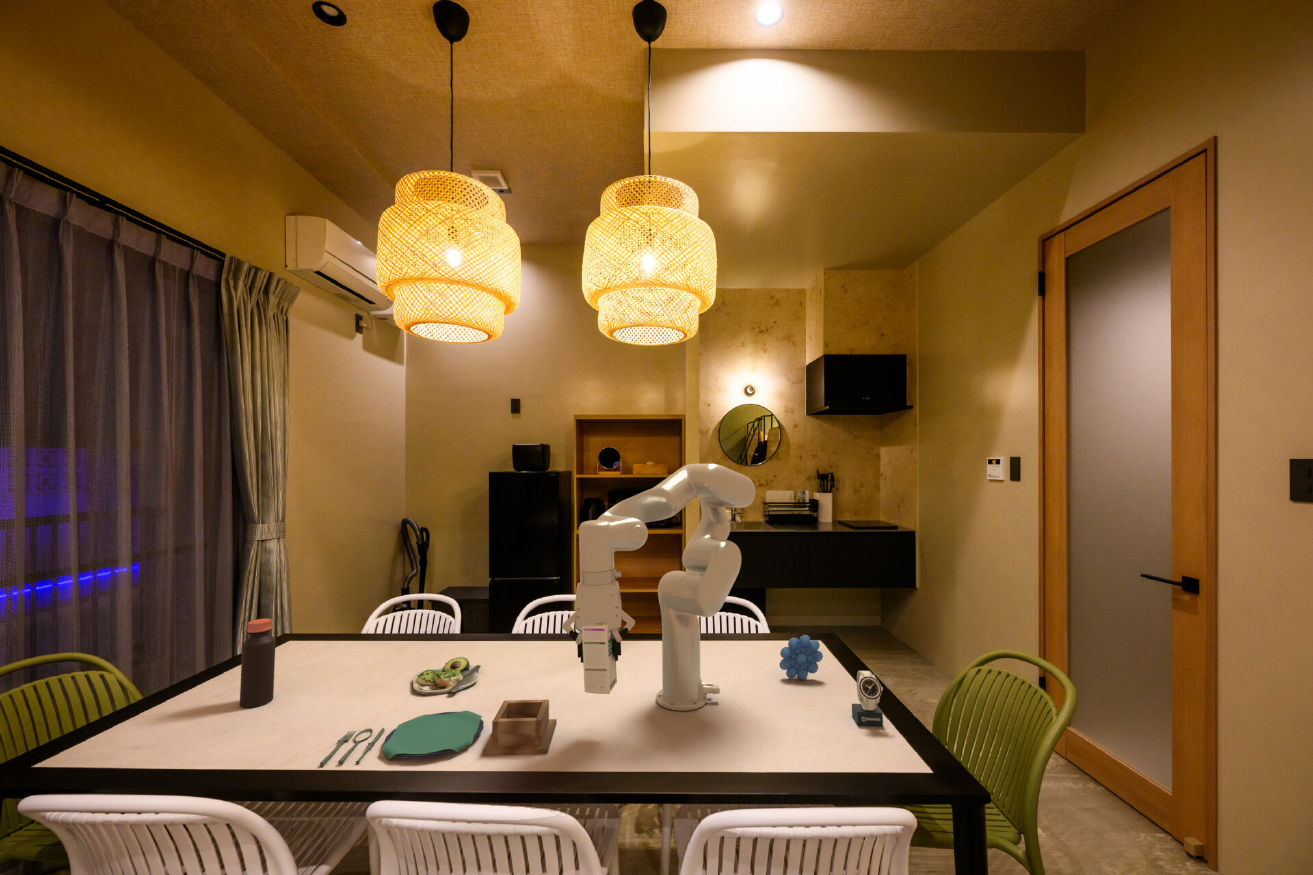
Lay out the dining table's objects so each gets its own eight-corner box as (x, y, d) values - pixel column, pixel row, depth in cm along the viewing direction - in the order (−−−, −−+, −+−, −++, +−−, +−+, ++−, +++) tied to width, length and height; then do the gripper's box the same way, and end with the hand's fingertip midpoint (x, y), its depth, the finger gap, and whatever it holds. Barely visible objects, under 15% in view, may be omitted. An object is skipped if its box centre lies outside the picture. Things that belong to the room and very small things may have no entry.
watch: (860, 730, 117) (858, 679, 117) (850, 713, 125) (848, 665, 125) (886, 731, 116) (884, 679, 117) (874, 714, 124) (873, 666, 125)
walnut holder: (556, 723, 121) (556, 696, 121) (547, 753, 108) (547, 723, 108) (498, 725, 120) (498, 697, 121) (482, 755, 107) (482, 725, 108)
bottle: (276, 702, 133) (279, 620, 134) (242, 711, 128) (245, 626, 129) (269, 694, 138) (272, 615, 139) (236, 703, 133) (240, 621, 134)
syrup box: (609, 694, 113) (607, 625, 113) (583, 693, 114) (581, 624, 114) (617, 683, 118) (615, 617, 119) (591, 681, 119) (590, 616, 120)
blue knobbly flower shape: (820, 674, 149) (819, 630, 150) (825, 683, 142) (824, 638, 143) (777, 672, 150) (777, 629, 151) (781, 682, 143) (780, 637, 144)
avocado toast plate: (486, 693, 139) (486, 675, 139) (410, 705, 132) (411, 686, 132) (479, 667, 156) (480, 651, 157) (413, 677, 149) (413, 660, 150)
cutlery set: (474, 760, 106) (474, 748, 106) (311, 777, 101) (311, 764, 102) (490, 716, 126) (490, 706, 126) (354, 728, 121) (354, 718, 121)
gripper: (636, 571, 121) (639, 651, 120) (560, 575, 120) (562, 655, 120) (637, 579, 114) (639, 664, 113) (555, 583, 113) (557, 668, 112)
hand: (599, 658), depth 116 cm, fingers closed on syrup box, 6 cm apart
